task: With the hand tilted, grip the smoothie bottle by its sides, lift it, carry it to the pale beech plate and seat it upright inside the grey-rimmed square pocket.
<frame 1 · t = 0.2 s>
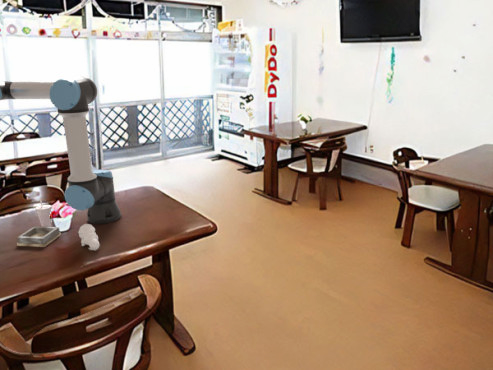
smoothie: (46, 227, 188), on the table
pocket plate: (39, 240, 175), on the table
white lumpy figurine: (91, 247, 168), on the table
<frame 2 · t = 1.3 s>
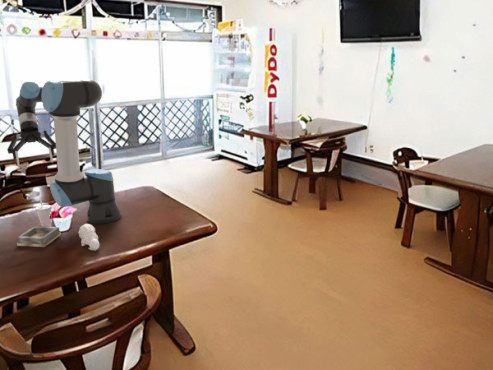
hand: (35, 163, 189), 27 cm above the table, tool tilted 45°, fingers open, 13 cm apart
nothing on the table moved.
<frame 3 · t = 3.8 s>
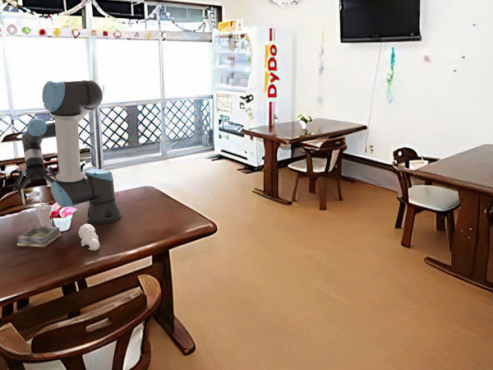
hand: (40, 200, 189), 11 cm above the table, tool tilted 45°, fingers open, 13 cm apart
nothing on the table moved.
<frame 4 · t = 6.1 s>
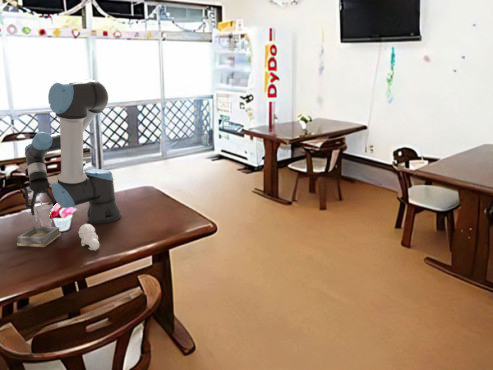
hand: (45, 219, 184), 5 cm above the table, tool tilted 45°, fingers closed on smoothie, 6 cm apart
smoothie: (46, 227, 189), on the table, touching gripper
everything else where it was.
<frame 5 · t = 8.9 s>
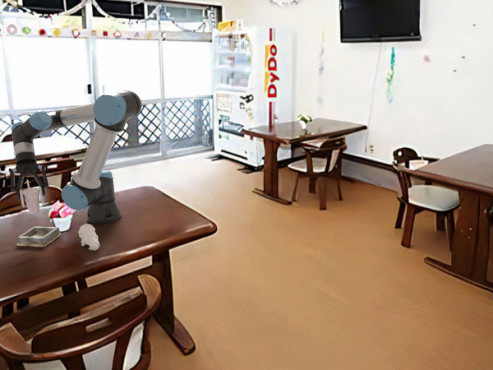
hand: (32, 203, 167), 17 cm above the table, tool tilted 45°, fingers closed on smoothie, 6 cm apart
smoothie: (34, 213, 172), point 12 cm above the table, touching gripper
everything else where it was.
when the fingers open (7 cm above the table, at t = 11.5 s): smoothie stays where it is, resting on pocket plate.
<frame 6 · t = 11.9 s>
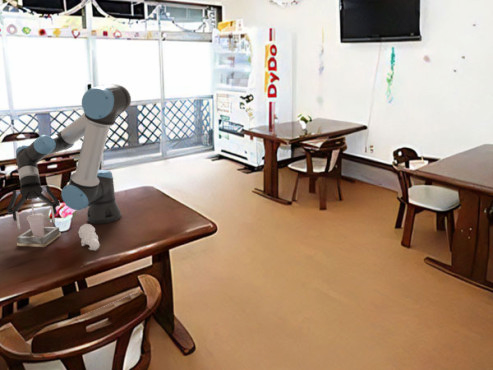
hand: (36, 224, 171), 8 cm above the table, tool tilted 45°, fingers open, 12 cm apart
smoothie: (39, 238, 175), point 1 cm above the table, touching pocket plate
everything else where it was.
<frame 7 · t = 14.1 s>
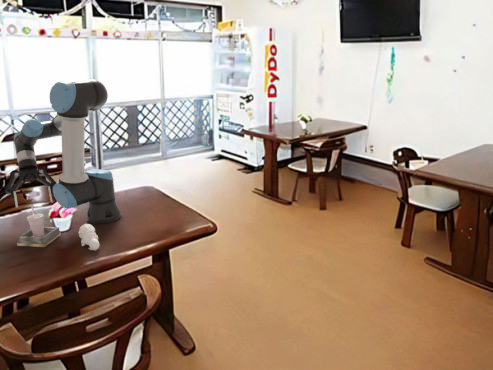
hand: (34, 203, 183), 12 cm above the table, tool tilted 45°, fingers open, 13 cm apart
nothing on the table moved.
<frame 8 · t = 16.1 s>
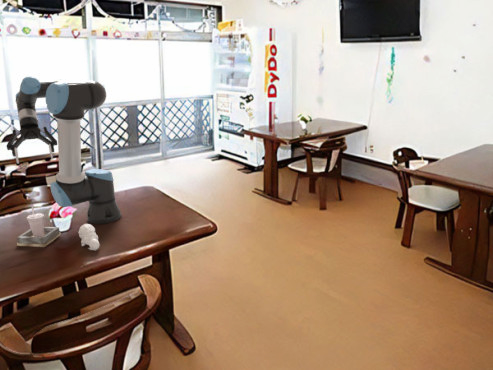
hand: (35, 159, 185), 30 cm above the table, tool tilted 45°, fingers open, 13 cm apart
nothing on the table moved.
at the end: smoothie 0.1 cm off-centre on the pocket plate, point 0.8 cm above the pocket plate's base; smoothie tilted 0°; the gripper is holding nothing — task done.
